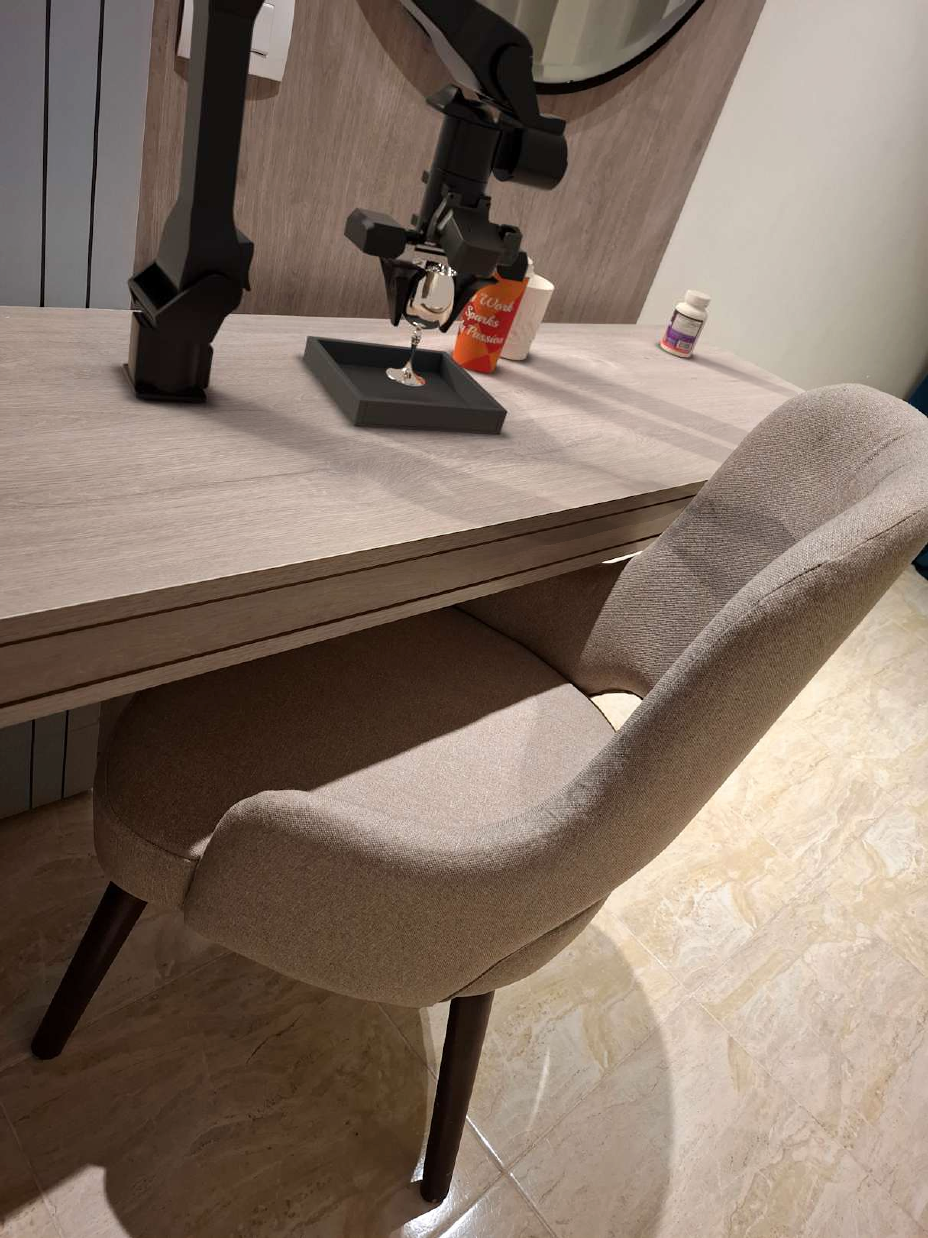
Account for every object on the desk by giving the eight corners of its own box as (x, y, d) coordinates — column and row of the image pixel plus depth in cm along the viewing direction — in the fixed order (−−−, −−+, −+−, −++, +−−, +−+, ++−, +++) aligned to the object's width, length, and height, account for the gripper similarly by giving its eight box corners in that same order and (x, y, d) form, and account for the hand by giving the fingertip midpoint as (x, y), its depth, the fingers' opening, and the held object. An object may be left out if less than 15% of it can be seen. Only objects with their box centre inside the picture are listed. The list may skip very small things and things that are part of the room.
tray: (354, 425, 90) (360, 399, 89) (302, 359, 100) (307, 335, 99) (500, 434, 99) (508, 411, 98) (439, 372, 110) (445, 350, 108)
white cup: (526, 367, 121) (551, 294, 115) (470, 347, 121) (493, 273, 115) (533, 352, 127) (557, 281, 122) (480, 333, 128) (502, 262, 122)
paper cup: (435, 357, 114) (467, 244, 106) (457, 346, 120) (489, 238, 112) (491, 382, 112) (527, 269, 105) (510, 368, 119) (546, 261, 111)
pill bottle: (667, 343, 154) (691, 286, 149) (694, 356, 152) (719, 299, 147) (654, 346, 150) (678, 288, 145) (682, 359, 148) (708, 301, 143)
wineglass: (412, 392, 95) (443, 279, 89) (369, 369, 97) (396, 257, 91) (440, 384, 100) (472, 276, 93) (399, 362, 102) (427, 255, 95)
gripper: (409, 176, 77) (367, 351, 85) (580, 216, 87) (527, 369, 95) (360, 141, 84) (326, 305, 93) (523, 182, 94) (478, 327, 102)
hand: (418, 328), depth 95 cm, fingers closed on wineglass, 5 cm apart
